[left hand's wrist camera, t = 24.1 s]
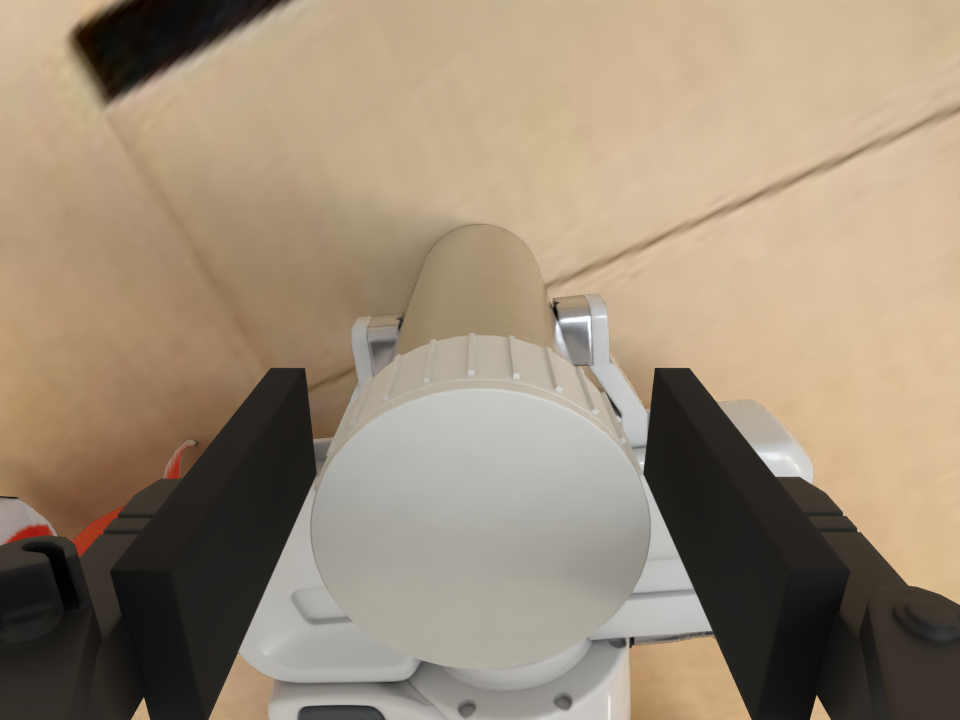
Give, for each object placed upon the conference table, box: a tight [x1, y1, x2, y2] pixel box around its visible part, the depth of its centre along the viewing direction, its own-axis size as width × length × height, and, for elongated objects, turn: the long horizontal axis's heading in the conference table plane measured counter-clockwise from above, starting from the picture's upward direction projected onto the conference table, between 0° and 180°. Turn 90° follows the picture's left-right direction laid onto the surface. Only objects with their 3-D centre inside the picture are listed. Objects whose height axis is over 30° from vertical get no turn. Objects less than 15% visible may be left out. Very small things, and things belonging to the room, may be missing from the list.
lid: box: [310, 333, 651, 669], centre depth 12 cm, size 6×6×2 cm
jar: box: [388, 224, 574, 366], centre depth 18 cm, size 5×5×15 cm
